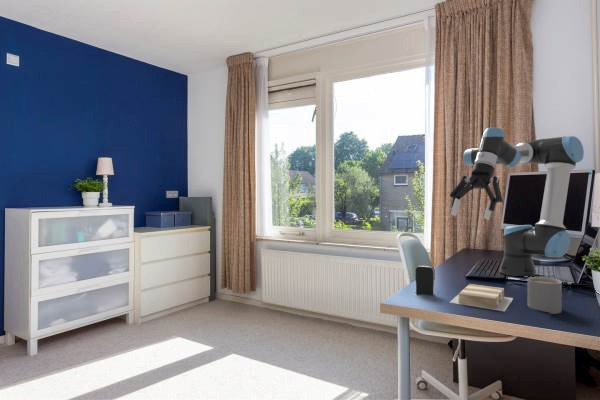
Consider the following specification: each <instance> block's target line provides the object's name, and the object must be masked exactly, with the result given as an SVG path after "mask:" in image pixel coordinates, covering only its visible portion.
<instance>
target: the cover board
mask: <svg viewBox="0 0 600 400" xmlns="http://www.w3.org/2000/svg"><path fill="white" fill-rule="evenodd" d="M458 294H459V303H462V304H468V305H474V306H480V307H486V308H492V309H496V308H497V306H498V305H499V304H500V302H501V301H502V300H503V298H504V297H505V288H503V287H497V286H496V287H495V286H489V285H488V286H487V285H480V284H472V283H469V284H468V285H467V286H466V287H464V288H463V289H462V290H461V291H459V293H458ZM462 304H461V305H462ZM468 305H467V306H468ZM474 306H473V307H474ZM480 307H479V308H480ZM486 308H485V309H486ZM492 309H491V310H492Z"/></svg>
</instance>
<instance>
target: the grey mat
mask: <svg viewBox="0 0 600 400" xmlns="http://www.w3.org/2000/svg"><path fill="white" fill-rule="evenodd" d="M513 299H514V298H513V297H506V296H504V298H503V300H502V301H501V302H500V304H499V305H498V306H497V308H496V309H492V308H486V307H480V306H474V305H468V304H462V303H459V293H458V294H457V295H455V296H454V298H453V299H452V300H450V301H449V303H451V304H457V305H461V306H462V305H463V306H469V307H475V308H481V309H488V310H494V311H499V312H504V313H505V312H506V311H507V310H508V308H509V306H510V304H511V303H512V301H513Z"/></svg>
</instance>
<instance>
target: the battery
mask: <svg viewBox="0 0 600 400" xmlns="http://www.w3.org/2000/svg"><path fill="white" fill-rule="evenodd" d="M435 280H436V271H435V268H434V267H433V266H431V265H421V264H420V265H418V266H416V267H415V294H416V295H419V296H420V295H426V296H434V295H435Z"/></svg>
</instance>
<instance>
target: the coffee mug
mask: <svg viewBox="0 0 600 400" xmlns="http://www.w3.org/2000/svg"><path fill="white" fill-rule="evenodd" d="M562 291H563V282H562V280H560V279H558V278H557V279H556V278H552V277H547V276H534V277H527V298H526V299H527V300H526V301H527V307H528V308H530V309H532V310H536V311H539V312H547V313H548V314H551V315H555V314H560V313H562V305H563V304H562V303H563V300H562V299H563V298H562V297H563V292H562Z"/></svg>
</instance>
